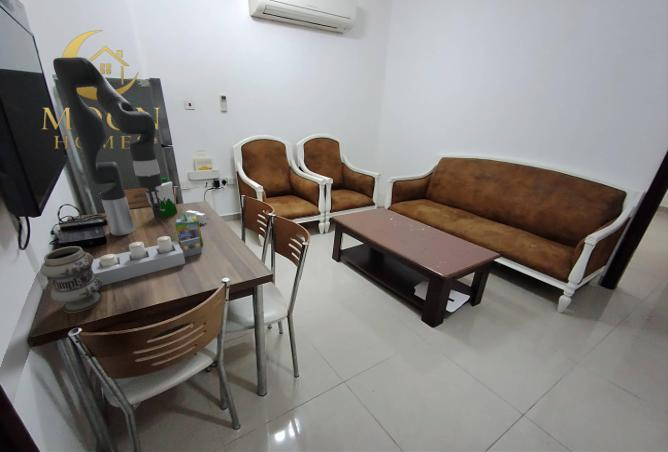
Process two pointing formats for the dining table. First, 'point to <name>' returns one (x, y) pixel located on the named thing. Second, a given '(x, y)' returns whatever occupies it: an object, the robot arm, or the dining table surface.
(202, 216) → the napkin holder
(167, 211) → the milk carton
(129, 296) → the dining table surface
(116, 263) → the button
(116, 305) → the dining table surface
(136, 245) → the button
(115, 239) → the dining table surface
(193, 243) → the card
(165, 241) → the button
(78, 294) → the apothecary jar
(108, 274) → the console
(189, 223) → the chalk box
